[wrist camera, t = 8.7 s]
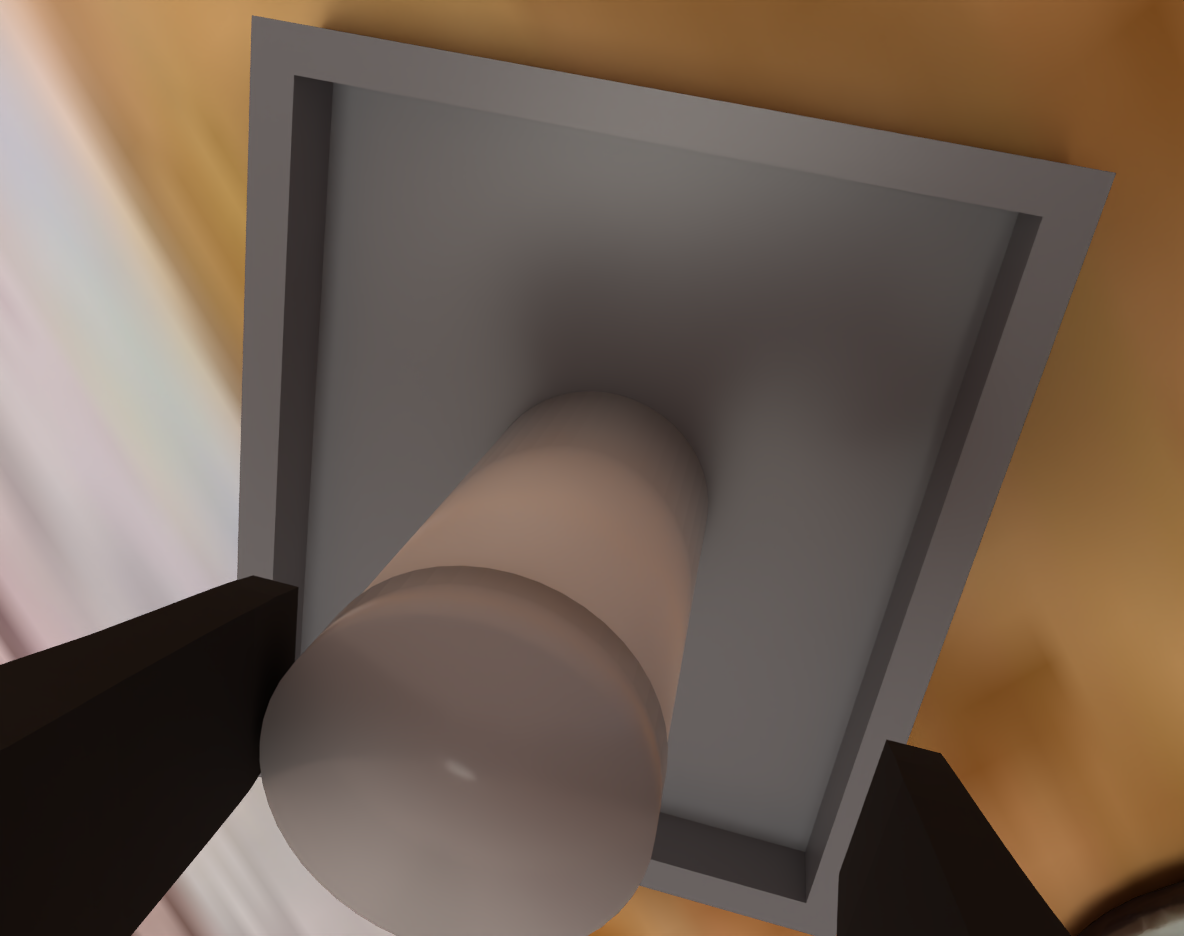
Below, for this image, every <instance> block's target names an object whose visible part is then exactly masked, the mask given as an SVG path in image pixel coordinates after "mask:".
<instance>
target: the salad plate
mask: <svg viewBox="0 0 1184 936" xmlns="http://www.w3.org/2000/svg"><path fill="white" fill-rule="evenodd" d="M1078 936H1184V881H1182V882H1179V883H1176V884H1173V885H1171V886H1168V887H1165V888H1162V889H1159V890H1156V891H1153V892H1150V893H1147V894H1144V895H1142V896H1139V897H1136V898H1134V899H1132V900H1130V901H1128V902H1126V903H1124V904H1122V905H1120V906H1119V907H1117V908H1115V909H1113V910H1111V911H1109V912H1108V913H1106V914H1104V915H1103V916H1101V917H1100V918H1099V919H1097V920H1096V921H1095V922H1093V923H1092V924H1090V925H1089V926H1088V927H1087V928H1085V929H1084V930H1083V931H1082V932H1081V933H1080V934H1079V935H1078Z"/></svg>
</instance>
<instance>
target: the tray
mask: <svg viewBox="0 0 1184 936" xmlns="http://www.w3.org/2000/svg"><path fill="white" fill-rule="evenodd" d="M1115 175H1116V173H1113V172H1108V171H1102V170H1097V169H1091V168H1086V167H1080V166H1075V165H1069V164H1064V163H1058V162H1053V161H1047V160H1042V159H1036V158H1031V157H1025V156H1020V155H1014V154H1009V153H1003V152H998V151H993V150H987V149H982V148H976V147H971V146H965V145H960V144H954V143H949V142H943V141H938V140H932V139H927V138H921V137H916V136H910V135H905V134H899V133H894V132H888V131H883V130H877V129H872V128H866V127H861V126H855V125H850V124H845V123H839V122H834V121H828V120H823V119H817V118H812V117H806V116H801V115H795V114H790V113H784V112H779V111H773V110H768V109H762V108H757V107H751V106H746V105H740V104H735V103H729V102H724V101H718V100H713V99H707V98H702V97H697V96H691V95H686V94H680V93H675V92H669V91H664V90H658V89H653V88H647V87H642V86H636V85H631V84H625V83H620V82H614V81H609V80H603V79H598V78H592V77H587V76H581V75H576V74H570V73H565V72H560V71H554V70H549V69H543V68H538V67H532V66H527V65H521V64H516V63H510V62H505V61H499V60H494V59H488V58H483V57H477V56H472V55H466V54H461V53H455V52H450V51H444V50H439V49H433V48H428V47H422V46H417V45H412V44H406V43H401V42H395V41H390V40H384V39H379V38H373V37H368V36H362V35H357V34H351V33H346V32H340V31H335V30H329V29H324V28H318V27H313V26H307V25H302V24H296V23H291V22H285V21H280V20H274V19H269V18H264V17H258V16H253V15H252V28H251V67H250V105H249V144H248V183H247V222H246V260H245V299H244V338H243V377H242V415H241V454H240V493H239V532H238V570H237V580H239V579H242V578H246V577H249V576H252V575H254V576H258V577H262V578H266V579H270V580H274V581H278V582H281V583H285V584H289V585H293V586H297V587H299V590H298V610H297V630H296V650H295V662H296V660H297V659H298V658H299V657H300V656H301V655H302V654H303V653H304V652H305V650H306V649H307V648H308V647H309V646H310V645H311V644H312V643H313V641H314V640H315V639H316V638H317V637H318V636H319V635H320V634H321V633H322V631H323V630H324V629H325V628H326V627H327V626H328V625H329V624H330V623H331V621H332V620H333V619H334V618H335V617H336V616H337V615H338V614H339V612H341V611H342V610H343V609H344V608H345V607H346V606H347V605H348V604H349V603H350V602H351V601H352V600H354V599H355V598H356V597H357V596H359V595H360V594H362V593H363V592H364V590H365V589H366V588H367V587H368V586H369V585H370V584H371V583H372V581H373V580H374V579H375V578H376V577H377V576H378V575H379V573H380V572H381V571H382V570H383V569H384V568H385V567H386V566H387V564H388V563H389V562H390V561H391V560H392V559H393V558H394V557H395V555H396V554H397V553H398V552H399V551H400V550H401V549H402V548H403V546H404V545H405V544H406V543H407V542H408V541H409V540H410V539H411V537H412V536H413V535H414V534H415V533H416V532H417V531H418V529H419V528H420V527H421V526H422V525H423V524H424V523H425V522H426V520H427V519H428V518H429V517H430V516H431V515H432V514H433V513H434V511H435V510H436V509H437V508H438V507H439V506H440V505H441V504H442V502H443V501H444V500H445V499H446V498H447V497H448V496H449V494H450V493H451V492H452V491H453V490H454V489H455V488H456V487H457V485H458V484H459V483H460V482H461V481H462V480H463V479H464V478H465V476H466V475H467V474H468V473H469V472H470V471H471V470H472V469H473V467H474V466H475V465H476V464H477V463H478V462H479V461H480V459H481V458H482V457H483V456H484V455H485V454H486V453H487V452H488V450H489V449H490V448H491V447H492V446H493V445H494V444H495V443H496V441H497V440H498V439H499V438H500V437H501V436H502V435H503V434H504V432H505V431H506V430H507V429H508V428H509V427H510V426H511V425H512V423H514V422H515V421H516V420H517V419H518V418H519V417H520V416H521V415H522V414H524V413H525V412H526V411H528V410H529V409H531V408H532V407H533V406H535V405H537V404H539V403H541V402H543V401H545V400H548V399H551V398H553V397H556V396H559V395H564V394H569V393H573V392H586V391H592V392H606V393H611V394H616V395H621V396H624V397H627V398H630V399H633V400H635V401H637V402H640V403H642V404H644V405H646V406H648V407H650V408H651V409H653V410H654V411H656V412H658V413H659V414H661V415H662V416H663V417H664V418H666V419H667V420H668V421H669V422H670V423H672V424H673V425H674V426H675V427H676V429H677V430H678V431H679V432H680V433H681V434H682V435H683V436H684V438H685V439H686V440H687V442H688V443H689V444H690V446H691V447H692V449H693V451H694V453H695V455H696V456H697V458H698V460H699V463H700V465H701V468H702V471H703V473H704V477H705V481H706V486H707V494H708V514H707V521H706V527H705V532H704V538H703V544H702V549H701V555H700V561H699V566H698V572H697V578H696V583H695V589H694V595H693V601H692V606H691V612H690V618H689V623H688V629H687V635H686V640H685V646H684V652H683V657H682V663H681V669H680V674H679V680H678V686H677V691H676V697H675V703H674V708H673V714H672V720H671V725H670V731H669V737H668V742H667V743H668V759H667V772H666V778H665V784H664V789H663V795H662V801H661V807H660V813H659V819H658V825H657V831H656V837H655V841H654V846H653V851H652V856H651V860H650V862H649V865H648V867H647V870H646V872H645V875H644V878H643V880H642V881H641V883H640V886H643V887H647V888H650V889H654V890H657V891H661V892H664V893H668V894H671V895H675V896H678V897H682V898H685V899H689V900H692V901H696V902H699V903H703V904H706V905H710V906H713V907H717V908H720V909H724V910H727V911H731V912H734V913H738V914H741V915H745V916H748V917H752V918H755V919H759V920H762V921H766V922H769V923H773V924H776V925H780V926H783V927H786V928H790V929H793V930H797V931H800V932H804V933H807V934H811V935H814V936H836V934H837V907H838V881H839V872H840V869H841V866H842V864H843V861H844V858H845V855H846V852H847V850H848V847H849V844H850V841H851V838H852V835H853V833H854V830H855V827H856V824H857V821H858V818H859V816H860V813H861V810H862V807H863V804H864V801H865V799H866V796H867V793H868V790H869V787H870V784H871V782H872V779H873V776H874V773H875V770H876V767H877V765H878V762H879V759H880V756H881V753H882V750H883V748H884V745H885V742H886V739H887V740H891V741H895V742H899V743H902V744H906V743H907V741H908V738H909V735H910V732H911V730H912V727H913V724H914V722H915V719H916V716H917V713H918V711H919V708H920V705H921V703H922V700H923V697H924V694H925V692H926V689H927V686H928V684H929V681H930V678H931V675H932V673H933V670H934V667H935V664H936V662H937V659H938V656H939V654H940V651H941V648H942V645H943V643H944V640H945V637H946V635H947V632H948V629H949V626H950V624H951V621H952V618H953V615H954V613H955V610H956V607H957V605H958V602H959V599H960V596H961V594H962V591H963V588H964V586H965V583H966V580H967V577H968V575H969V572H970V569H971V567H972V564H973V561H974V558H975V556H976V553H977V550H978V547H979V545H980V542H981V539H982V537H983V534H984V531H985V528H986V526H987V523H988V520H989V518H990V515H991V512H992V509H993V507H994V504H995V501H996V499H997V496H998V493H999V490H1000V488H1001V485H1002V482H1003V479H1004V477H1005V474H1006V471H1007V469H1008V466H1009V463H1010V460H1011V458H1012V455H1013V452H1014V450H1015V447H1016V444H1017V441H1018V439H1019V436H1020V433H1021V430H1022V428H1023V425H1024V422H1025V420H1026V417H1027V414H1028V411H1029V409H1030V406H1031V403H1032V401H1033V398H1034V395H1035V392H1036V390H1037V387H1038V384H1039V382H1040V379H1041V376H1042V373H1043V371H1044V368H1045V365H1046V362H1047V360H1048V357H1049V354H1050V352H1051V349H1052V346H1053V343H1054V341H1055V338H1056V335H1057V333H1058V330H1059V327H1060V324H1061V322H1062V319H1063V316H1064V313H1065V311H1066V308H1067V305H1068V303H1069V300H1070V297H1071V294H1072V292H1073V289H1074V286H1075V284H1076V281H1077V278H1078V275H1079V273H1080V270H1081V267H1082V265H1083V262H1084V259H1085V256H1086V254H1087V251H1088V248H1089V245H1090V243H1091V240H1092V237H1093V235H1094V232H1095V229H1096V226H1097V224H1098V221H1099V218H1100V216H1101V213H1102V210H1103V207H1104V205H1105V202H1106V199H1107V197H1108V194H1109V191H1110V188H1111V186H1112V183H1113V180H1114V177H1115ZM259 777H262V776H261V773H260V775H259Z"/></svg>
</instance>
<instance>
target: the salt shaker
mask: <svg viewBox="0 0 1184 936" xmlns="http://www.w3.org/2000/svg"><path fill="white" fill-rule="evenodd" d="M707 514H708V494H707V486H706V481H705V477H704V473H703V471H702V468H701V465H700V463H699V460H698V458H697V456H696V455H695V453H694V451H693V449H692V447H691V446H690V444H689V443H688V442H687V440H686V439H685V438H684V436H683V435H682V434H681V433H680V432H679V431H678V430H677V429H676V427H675V426H674V425H673V424H672V423H670V422H669V421H668V420H667V419H666V418H664V417H663V416H662V415H661V414H659V413H658V412H656V411H654V410H653V409H651V408H650V407H648V406H646V405H644V404H642V403H640V402H637V401H635V400H633V399H630V398H627V397H624V396H621V395H616V394H611V393H606V392H592V391H586V392H573V393H569V394H564V395H559V396H556V397H553V398H551V399H548V400H545V401H543V402H541V403H539V404H537V405H535V406H533V407H532V408H531V409H529V410H528V411H526V412H525V413H524V414H522V415H521V416H520V417H519V418H518V419H517V420H516V421H515V422H514V423H512V425H511V426H510V427H509V428H508V429H507V430H506V431H505V432H504V434H503V435H502V436H501V437H500V438H499V439H498V440H497V441H496V443H495V444H494V445H493V446H492V447H491V448H490V449H489V450H488V452H487V453H486V454H485V455H484V456H483V457H482V458H481V459H480V461H479V462H478V463H477V464H476V465H475V466H474V467H473V469H472V470H471V471H470V472H469V473H468V474H467V475H466V476H465V478H464V479H463V480H462V481H461V482H460V483H459V484H458V485H457V487H456V488H455V489H454V490H453V491H452V492H451V493H450V494H449V496H448V497H447V498H446V499H445V500H444V501H443V502H442V504H441V505H440V506H439V507H438V508H437V509H436V510H435V511H434V513H433V514H432V515H431V516H430V517H429V518H428V519H427V520H426V522H425V523H424V524H423V525H422V526H421V527H420V528H419V529H418V531H417V532H416V533H415V534H414V535H413V536H412V537H411V539H410V540H409V541H408V542H407V543H406V544H405V545H404V546H403V548H402V549H401V550H400V551H399V552H398V553H397V554H396V555H395V557H394V558H393V559H392V560H391V561H390V562H389V563H388V564H387V566H386V567H385V568H384V569H383V570H382V571H381V572H380V573H379V575H378V576H377V577H376V578H375V579H374V580H373V581H372V583H371V584H370V585H369V586H368V587H367V588H366V589H365V590H364V592H363V593H362V594H360V595H359V596H357V597H356V598H355V599H354V600H352V601H351V602H350V603H349V604H348V605H347V606H346V607H345V608H344V609H343V610H342V611H341V612H339V614H338V615H337V616H336V617H335V618H334V619H333V620H332V621H331V623H330V624H329V625H328V626H327V627H326V628H325V629H324V630H323V631H322V633H321V634H320V635H319V636H318V637H317V638H316V639H315V640H314V641H313V643H312V644H311V645H310V646H309V647H308V648H307V649H306V650H305V652H304V653H303V654H302V655H301V656H300V657H299V658H298V659H297V660H296V662H295V663H294V664H293V665H292V666H291V668H290V669H289V670H288V671H287V673H286V674H285V675H284V677H283V678H282V679H281V680H280V682H279V684H278V686H277V688H276V689H275V691H274V693H273V695H272V697H271V699H270V701H269V704H268V707H267V710H266V713H265V716H264V719H263V724H262V730H261V736H260V768H261V776H262V783H263V786H264V790H265V794H266V797H267V801H268V804H269V807H270V809H271V812H272V814H273V816H274V819H275V821H276V823H277V826H278V827H279V829H280V831H281V833H282V834H283V836H284V838H285V840H286V842H287V843H288V845H289V846H290V848H291V849H292V851H293V852H294V853H295V855H296V856H297V858H298V859H299V860H300V862H301V863H302V864H303V866H304V867H305V868H306V869H307V870H308V871H309V872H310V873H311V874H312V876H313V877H314V878H315V879H316V880H317V881H318V882H319V883H320V884H321V885H322V886H323V887H324V888H325V889H326V890H328V891H329V892H330V893H331V894H332V895H333V896H334V897H335V898H336V899H338V900H339V901H340V902H342V903H343V904H344V905H346V906H347V907H348V908H350V909H351V910H352V911H354V912H355V913H356V914H358V915H360V916H361V917H363V918H365V919H366V920H368V921H370V922H371V923H373V924H375V925H376V926H378V927H380V928H382V929H384V930H386V931H388V932H390V933H392V934H394V935H396V936H588V935H589V934H591V933H592V932H594V931H596V930H597V929H599V928H601V927H602V926H603V925H605V924H606V923H607V922H608V921H609V920H610V919H612V918H613V917H614V916H615V915H616V914H618V913H619V911H620V910H621V909H622V908H623V907H624V906H625V904H626V903H627V902H628V901H629V900H630V899H631V897H632V896H633V894H634V893H635V891H636V889H637V888H638V886H639V885H640V883H641V881H642V880H643V878H644V875H645V872H646V870H647V867H648V865H649V862H650V860H651V856H652V851H653V846H654V841H655V837H656V831H657V825H658V819H659V813H660V807H661V801H662V795H663V789H664V784H665V778H666V772H667V759H668V743H667V742H668V737H669V731H670V725H671V720H672V714H673V708H674V703H675V697H676V691H677V686H678V680H679V674H680V669H681V663H682V657H683V652H684V646H685V640H686V635H687V629H688V623H689V618H690V612H691V606H692V601H693V595H694V589H695V583H696V578H697V572H698V566H699V561H700V555H701V549H702V544H703V538H704V532H705V527H706V521H707Z"/></svg>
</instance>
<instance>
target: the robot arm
mask: <svg viewBox="0 0 1184 936" xmlns="http://www.w3.org/2000/svg"><path fill="white" fill-rule="evenodd" d="M298 590H299V587H297V586H293V585H289V584H285V583H281V582H278V581H274V580H270V579H266V578H262V577H258V576H254V575H252V576H249V577H246V578H242V579H239V580H236V581H233V582H230V583H227V584H224V585H221V586H218V587H215V588H213V589H210V590H207V591H205V592H202V593H199V594H197V595H194V596H191V597H189V598H186V599H183V600H181V601H178V602H176V603H173V604H170V605H168V606H165V607H163V608H160V609H157V610H155V611H152V612H149V613H147V614H144V615H141V616H139V617H136V618H133V619H131V620H128V621H125V622H123V623H120V624H117V625H115V626H112V627H109V628H107V629H104V630H101V631H99V632H96V633H93V634H91V635H88V636H85V637H82V638H79V639H76V640H73V641H70V642H67V643H64V644H61V645H58V646H55V647H52V648H49V649H46V650H43V651H40V652H37V653H34V654H31V655H28V656H25V657H22V658H19V659H16V660H13V661H10V662H8V663H5V664H2V665H0V936H131V935H132V934H133V933H134V931H135V930H136V929H137V928H138V927H139V925H140V924H141V923H142V922H143V920H144V919H145V918H146V917H147V916H148V914H149V913H150V912H151V911H152V909H153V908H154V907H155V906H156V905H157V903H158V902H159V901H160V900H161V899H162V897H163V896H164V895H165V894H166V892H167V891H168V890H169V889H170V888H171V886H172V885H173V884H174V883H175V882H176V880H177V879H178V878H179V877H180V875H181V874H182V873H183V872H184V871H185V869H186V868H187V867H188V866H189V865H190V863H191V862H192V861H193V860H194V858H195V857H196V856H197V855H198V854H199V852H200V851H201V850H202V849H203V848H204V846H205V845H206V844H207V843H208V841H209V840H210V839H211V838H212V837H213V835H214V834H215V833H216V832H217V830H218V829H219V828H220V827H221V825H222V824H223V823H224V822H225V820H226V819H227V818H228V817H229V815H230V814H231V813H232V812H233V811H234V809H235V808H236V807H237V806H238V804H239V803H240V802H241V800H242V799H243V798H244V797H245V795H246V794H247V793H248V792H249V790H250V789H251V787H252V786H253V784H254V783H255V781H256V779H257V778H258V776H259V775H260V773H261V768H260V736H261V730H262V724H263V719H264V716H265V713H266V710H267V707H268V704H269V701H270V699H271V697H272V695H273V693H274V691H275V689H276V688H277V686H278V684H279V682H280V680H281V679H282V678H283V677H284V675H285V674H286V673H287V671H288V670H289V669H290V668H291V666H292V665H293V664H294V663H295V650H296V630H297V610H298ZM837 936H1071V935H1070V933H1069V932H1068V931H1067V930H1066V928H1065V927H1064V926H1063V924H1062V923H1061V922H1060V920H1059V919H1058V918H1057V917H1056V915H1055V914H1054V913H1053V911H1052V910H1051V909H1050V907H1049V906H1048V905H1047V903H1046V902H1045V901H1044V899H1043V898H1042V897H1041V895H1040V894H1039V893H1038V891H1037V890H1036V889H1035V887H1034V886H1033V884H1032V883H1031V882H1030V880H1029V879H1028V878H1027V876H1026V875H1025V873H1024V872H1023V871H1022V869H1021V868H1020V867H1019V865H1018V864H1017V862H1016V861H1015V860H1014V858H1013V857H1012V855H1011V854H1010V852H1009V851H1008V850H1007V848H1006V847H1005V845H1004V844H1003V843H1002V841H1001V840H1000V838H999V837H998V835H997V834H996V832H995V831H994V829H993V828H992V827H991V825H990V824H989V822H988V821H987V819H986V818H985V816H984V815H983V814H982V812H981V811H980V809H979V808H978V806H977V805H976V803H975V802H974V800H973V799H972V797H971V796H970V794H969V793H968V791H967V790H966V789H965V787H964V786H963V784H962V783H961V781H960V780H959V778H958V777H957V775H956V774H955V772H954V771H953V770H952V768H951V767H950V765H949V764H948V763H947V761H946V760H945V758H944V757H943V756H942V754H941V753H937V752H933V751H929V750H926V749H922V748H918V747H914V746H910V745H906V744H902V743H899V742H895V741H891V740H887V739H886V742H885V745H884V748H883V750H882V753H881V756H880V759H879V762H878V765H877V767H876V770H875V773H874V776H873V779H872V782H871V784H870V787H869V790H868V793H867V796H866V799H865V801H864V804H863V807H862V810H861V813H860V816H859V818H858V821H857V824H856V827H855V830H854V833H853V835H852V838H851V841H850V844H849V847H848V850H847V852H846V855H845V858H844V861H843V864H842V866H841V869H840V872H839V881H838V907H837Z"/></svg>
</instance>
